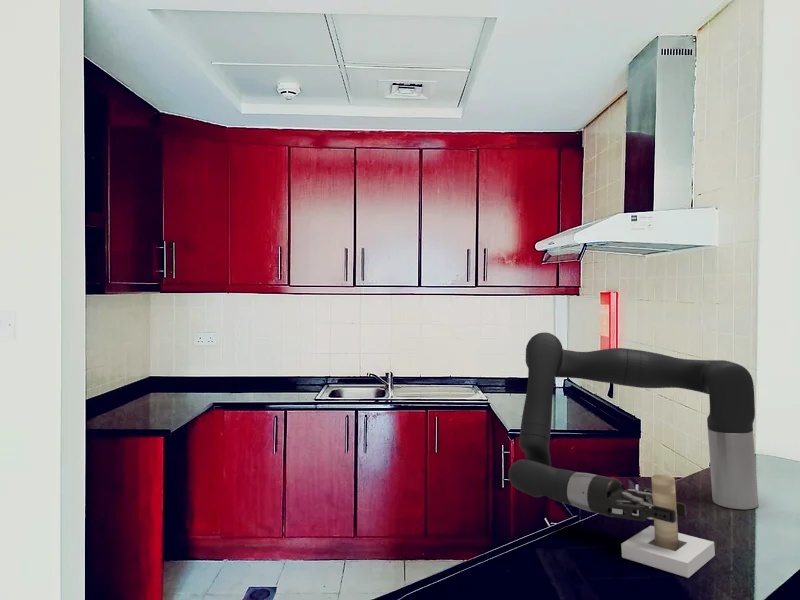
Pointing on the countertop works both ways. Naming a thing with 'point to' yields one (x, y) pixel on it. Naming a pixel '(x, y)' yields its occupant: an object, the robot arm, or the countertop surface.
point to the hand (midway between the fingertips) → (680, 513)
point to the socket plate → (669, 552)
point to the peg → (665, 498)
